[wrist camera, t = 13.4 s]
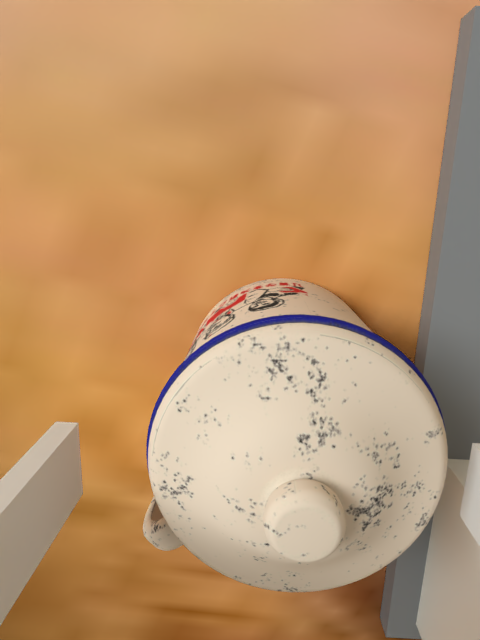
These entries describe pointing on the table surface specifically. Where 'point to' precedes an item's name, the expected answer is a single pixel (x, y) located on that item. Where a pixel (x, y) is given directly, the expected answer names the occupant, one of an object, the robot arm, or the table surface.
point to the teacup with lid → (293, 443)
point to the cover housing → (451, 568)
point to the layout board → (448, 311)
